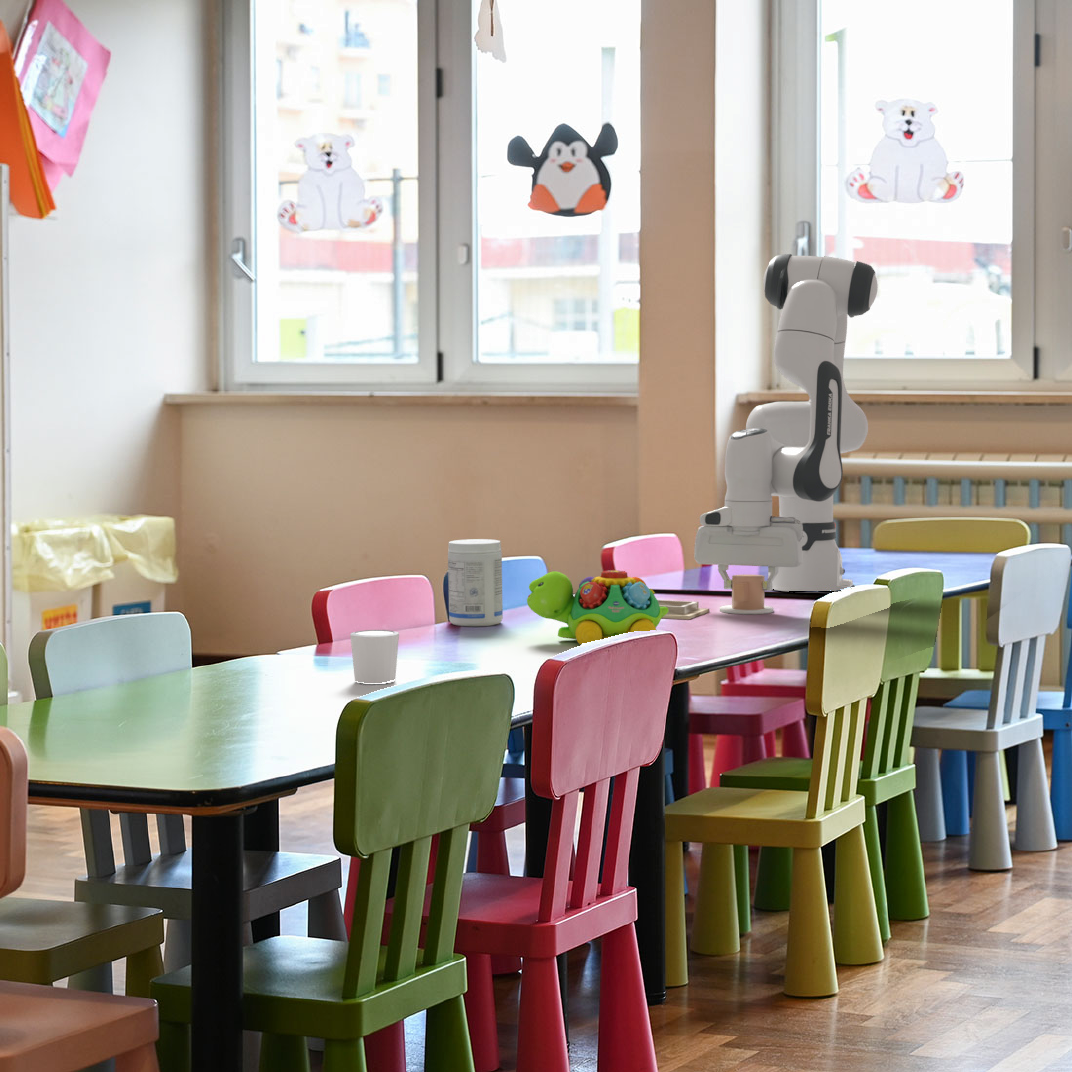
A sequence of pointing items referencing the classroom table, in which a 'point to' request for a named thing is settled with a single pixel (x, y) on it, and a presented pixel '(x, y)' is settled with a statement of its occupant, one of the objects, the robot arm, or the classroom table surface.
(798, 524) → the robot arm
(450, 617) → the supplement tub
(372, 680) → the white cup
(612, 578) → the turtle toy
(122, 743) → the classroom table surface
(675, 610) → the jug stand
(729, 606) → the coaster
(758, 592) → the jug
